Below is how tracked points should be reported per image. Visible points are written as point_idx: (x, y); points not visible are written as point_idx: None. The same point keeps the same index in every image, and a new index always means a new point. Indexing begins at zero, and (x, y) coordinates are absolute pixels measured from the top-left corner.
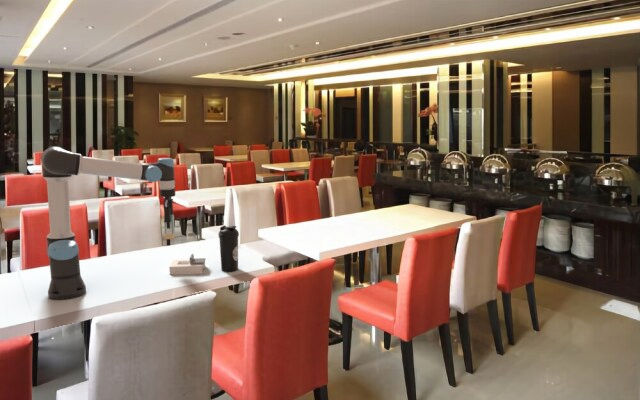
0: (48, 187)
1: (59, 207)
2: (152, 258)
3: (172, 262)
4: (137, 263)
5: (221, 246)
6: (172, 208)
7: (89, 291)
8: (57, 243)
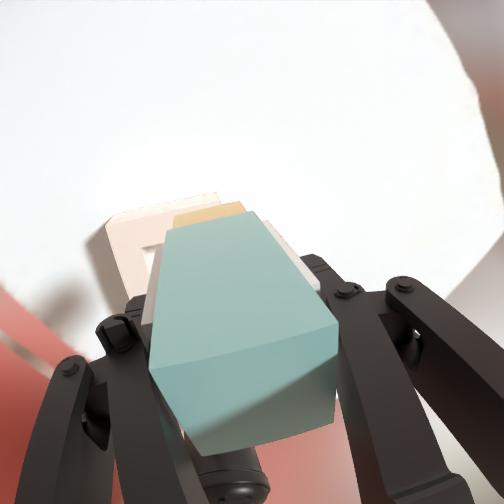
0: None
1: None
2: (347, 52)
3: (174, 211)
4: (270, 7)
5: (191, 448)
6: (455, 435)
7: None
8: None
